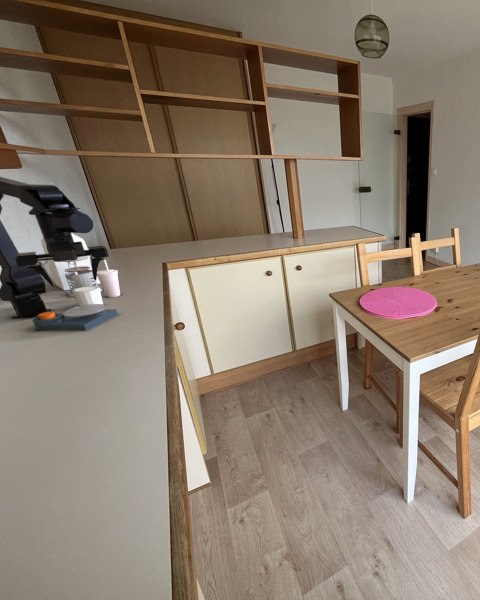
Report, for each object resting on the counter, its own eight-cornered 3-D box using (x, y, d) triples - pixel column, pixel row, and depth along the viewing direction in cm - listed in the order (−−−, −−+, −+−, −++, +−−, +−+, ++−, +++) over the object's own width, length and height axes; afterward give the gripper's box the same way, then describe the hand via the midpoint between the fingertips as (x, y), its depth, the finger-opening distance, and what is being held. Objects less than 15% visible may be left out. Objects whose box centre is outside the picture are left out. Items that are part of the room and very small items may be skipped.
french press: (73, 298, 117) (47, 231, 108) (63, 292, 122) (38, 228, 113) (106, 291, 125) (85, 228, 116) (95, 286, 130) (75, 225, 121)
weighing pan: (53, 317, 94) (52, 316, 93) (82, 304, 103) (82, 303, 103) (88, 317, 94) (87, 316, 94) (114, 304, 103) (114, 303, 103)
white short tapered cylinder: (89, 312, 106) (82, 292, 103) (73, 310, 107) (66, 291, 104) (110, 305, 112) (104, 286, 110) (95, 303, 113) (89, 284, 111)
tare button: (37, 320, 92) (35, 315, 91) (47, 316, 95) (45, 311, 94) (48, 320, 92) (46, 315, 92) (59, 316, 95) (57, 311, 95)
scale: (30, 332, 92) (26, 321, 90) (72, 314, 104) (68, 304, 103) (83, 332, 93) (78, 321, 91) (117, 314, 105) (114, 304, 103)
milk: (101, 283, 134) (80, 221, 124) (64, 290, 125) (38, 224, 115) (91, 278, 140) (71, 218, 130) (55, 284, 131) (30, 221, 121)
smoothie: (128, 294, 122) (118, 259, 117) (110, 299, 117) (98, 263, 112) (117, 292, 124) (106, 257, 119) (98, 297, 119) (86, 261, 114)
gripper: (3, 238, 78) (28, 297, 84) (103, 232, 91) (118, 282, 97) (6, 233, 85) (29, 287, 91) (98, 227, 98) (113, 275, 104)
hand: (74, 282), depth 95 cm, fingers open, 9 cm apart
